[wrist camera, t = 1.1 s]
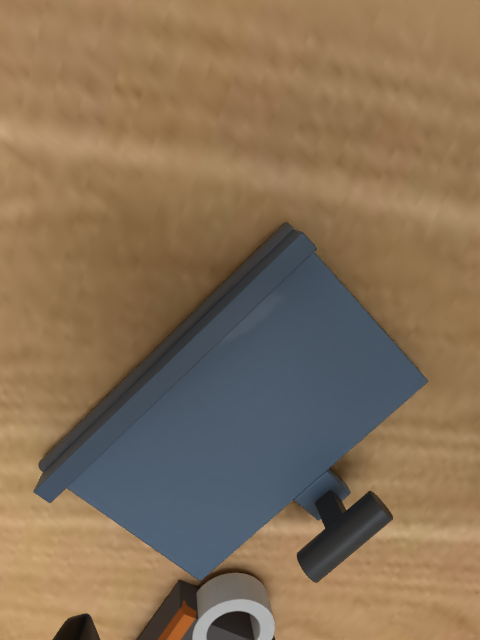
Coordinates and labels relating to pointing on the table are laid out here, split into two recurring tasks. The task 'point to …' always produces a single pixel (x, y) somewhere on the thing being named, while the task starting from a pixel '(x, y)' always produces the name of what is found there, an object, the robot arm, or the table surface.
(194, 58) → the table surface
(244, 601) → the electronic device
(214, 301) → the board
